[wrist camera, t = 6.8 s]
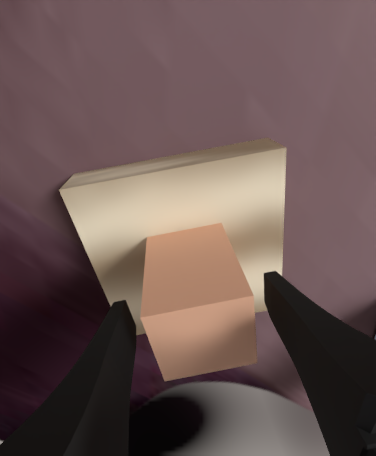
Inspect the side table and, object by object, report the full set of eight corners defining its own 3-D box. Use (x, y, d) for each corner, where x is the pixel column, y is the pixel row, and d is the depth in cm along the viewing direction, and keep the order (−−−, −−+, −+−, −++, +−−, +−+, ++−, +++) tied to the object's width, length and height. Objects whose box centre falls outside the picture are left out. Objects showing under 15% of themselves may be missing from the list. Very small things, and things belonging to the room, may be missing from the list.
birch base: (266, 281, 22) (280, 307, 19) (128, 307, 22) (124, 337, 19) (265, 136, 16) (286, 147, 13) (75, 172, 16) (58, 189, 13)
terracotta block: (228, 279, 17) (257, 363, 12) (163, 292, 17) (164, 381, 12) (221, 222, 15) (253, 295, 10) (146, 237, 15) (140, 317, 10)
